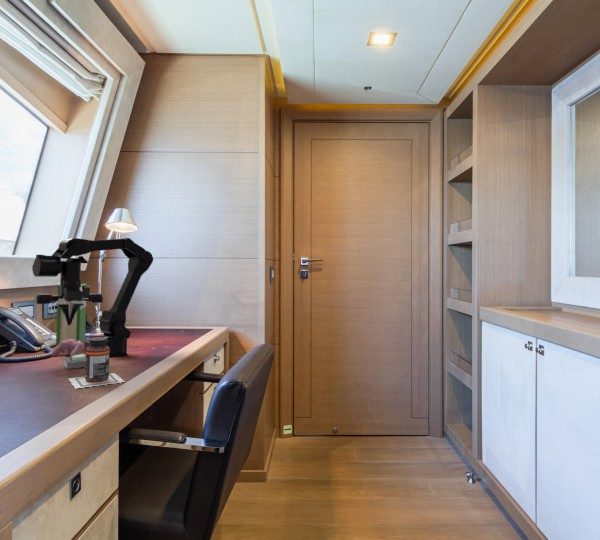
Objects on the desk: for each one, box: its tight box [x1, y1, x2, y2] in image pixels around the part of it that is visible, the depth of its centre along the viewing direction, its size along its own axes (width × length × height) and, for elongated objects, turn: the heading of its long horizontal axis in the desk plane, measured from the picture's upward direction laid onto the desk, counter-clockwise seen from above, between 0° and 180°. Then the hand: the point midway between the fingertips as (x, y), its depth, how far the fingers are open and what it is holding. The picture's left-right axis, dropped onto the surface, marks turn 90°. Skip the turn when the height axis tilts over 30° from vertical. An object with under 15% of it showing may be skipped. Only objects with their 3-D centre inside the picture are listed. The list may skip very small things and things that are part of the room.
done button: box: [72, 353, 86, 362], centre depth 132 cm, size 5×5×2 cm
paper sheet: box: [68, 372, 126, 390], centre depth 114 cm, size 12×11×1 cm
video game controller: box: [51, 339, 86, 357], centre depth 144 cm, size 10×5×7 cm, turn 72°
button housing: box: [62, 356, 85, 370], centre depth 132 cm, size 9×9×2 cm
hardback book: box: [55, 283, 88, 350], centre depth 160 cm, size 18×7×24 cm, turn 21°
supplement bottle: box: [84, 337, 111, 382], centre depth 114 cm, size 6×6×11 cm
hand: (68, 325), depth 135 cm, fingers closed
